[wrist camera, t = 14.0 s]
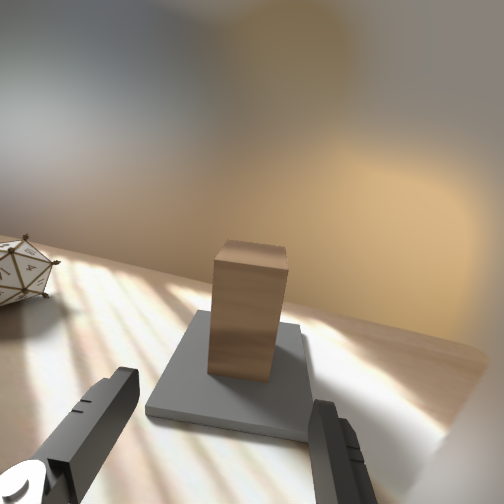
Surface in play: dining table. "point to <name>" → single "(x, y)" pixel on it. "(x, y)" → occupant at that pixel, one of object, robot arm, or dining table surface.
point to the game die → (22, 271)
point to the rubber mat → (236, 388)
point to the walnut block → (246, 309)
